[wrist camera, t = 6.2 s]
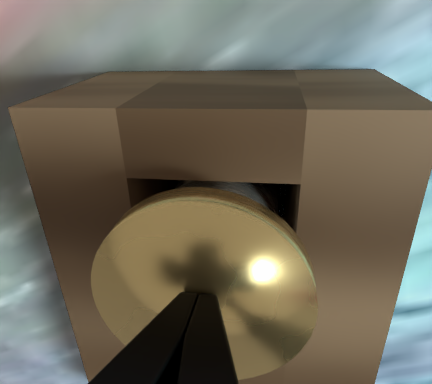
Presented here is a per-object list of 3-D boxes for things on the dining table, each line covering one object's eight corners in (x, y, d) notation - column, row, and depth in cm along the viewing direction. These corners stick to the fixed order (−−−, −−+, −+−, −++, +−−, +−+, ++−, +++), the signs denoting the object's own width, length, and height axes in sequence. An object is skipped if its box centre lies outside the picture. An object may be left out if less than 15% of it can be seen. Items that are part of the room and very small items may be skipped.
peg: (294, 244, 14) (307, 391, 9) (171, 236, 15) (110, 368, 10) (305, 119, 12) (331, 211, 6) (159, 117, 13) (68, 199, 7)
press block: (319, 402, 21) (334, 533, 16) (158, 383, 23) (122, 496, 17) (374, 69, 13) (447, 110, 7) (108, 71, 14) (7, 107, 9)
